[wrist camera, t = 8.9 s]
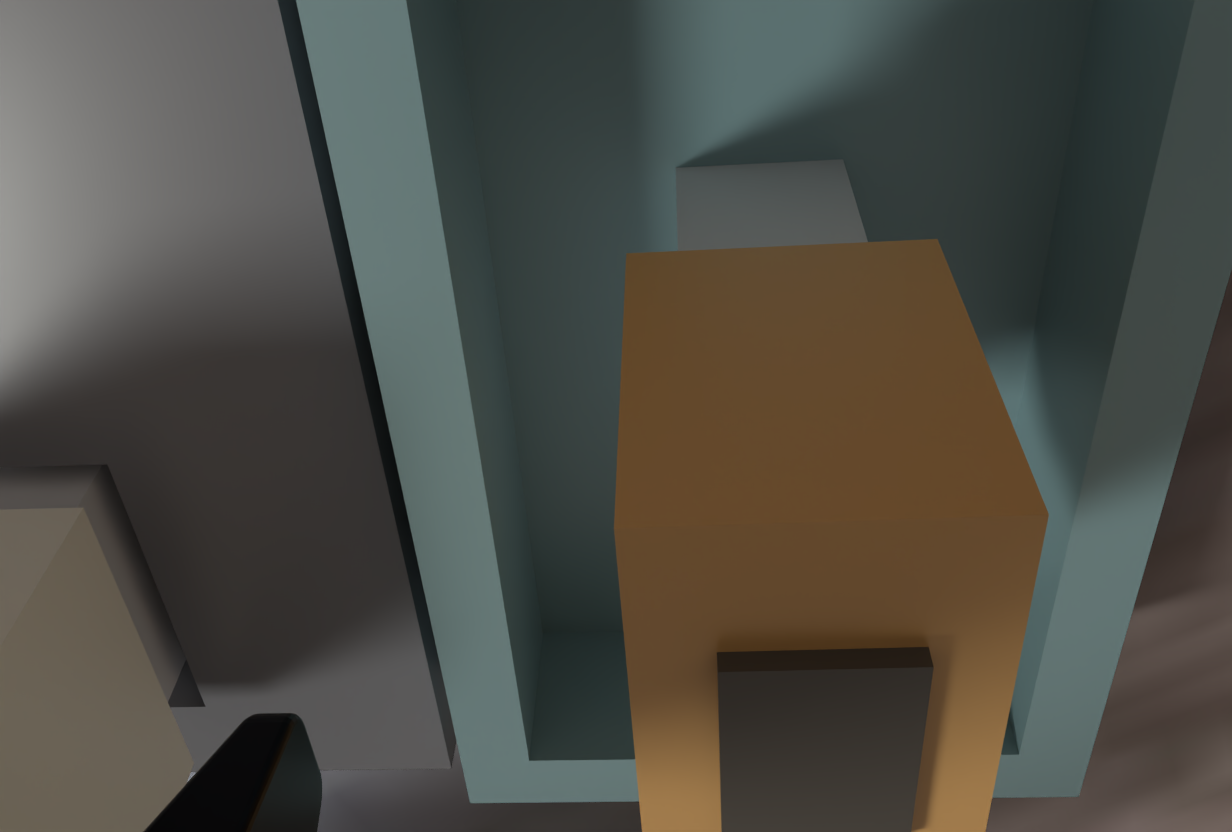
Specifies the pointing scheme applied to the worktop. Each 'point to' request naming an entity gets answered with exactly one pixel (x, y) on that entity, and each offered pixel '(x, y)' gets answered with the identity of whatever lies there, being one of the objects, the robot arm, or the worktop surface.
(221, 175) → the block
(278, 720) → the robot arm
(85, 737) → the block
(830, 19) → the parts tray
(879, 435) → the block
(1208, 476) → the worktop surface
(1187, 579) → the worktop surface
